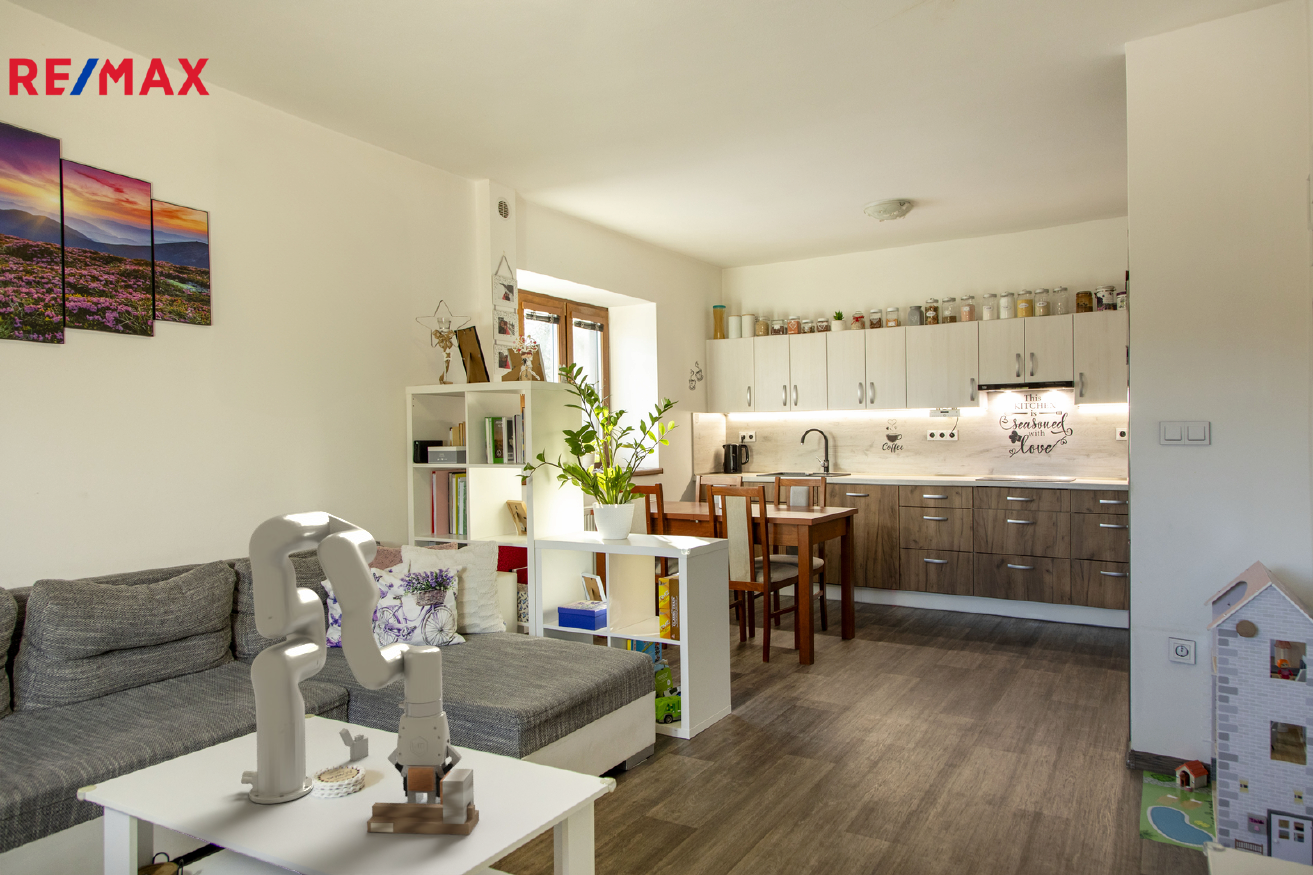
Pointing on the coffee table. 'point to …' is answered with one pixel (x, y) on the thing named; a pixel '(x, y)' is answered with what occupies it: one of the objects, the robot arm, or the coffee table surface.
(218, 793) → the coffee table surface
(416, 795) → the white and wooden block
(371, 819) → the rail
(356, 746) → the lighter
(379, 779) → the coffee table surface
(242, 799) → the coffee table surface
